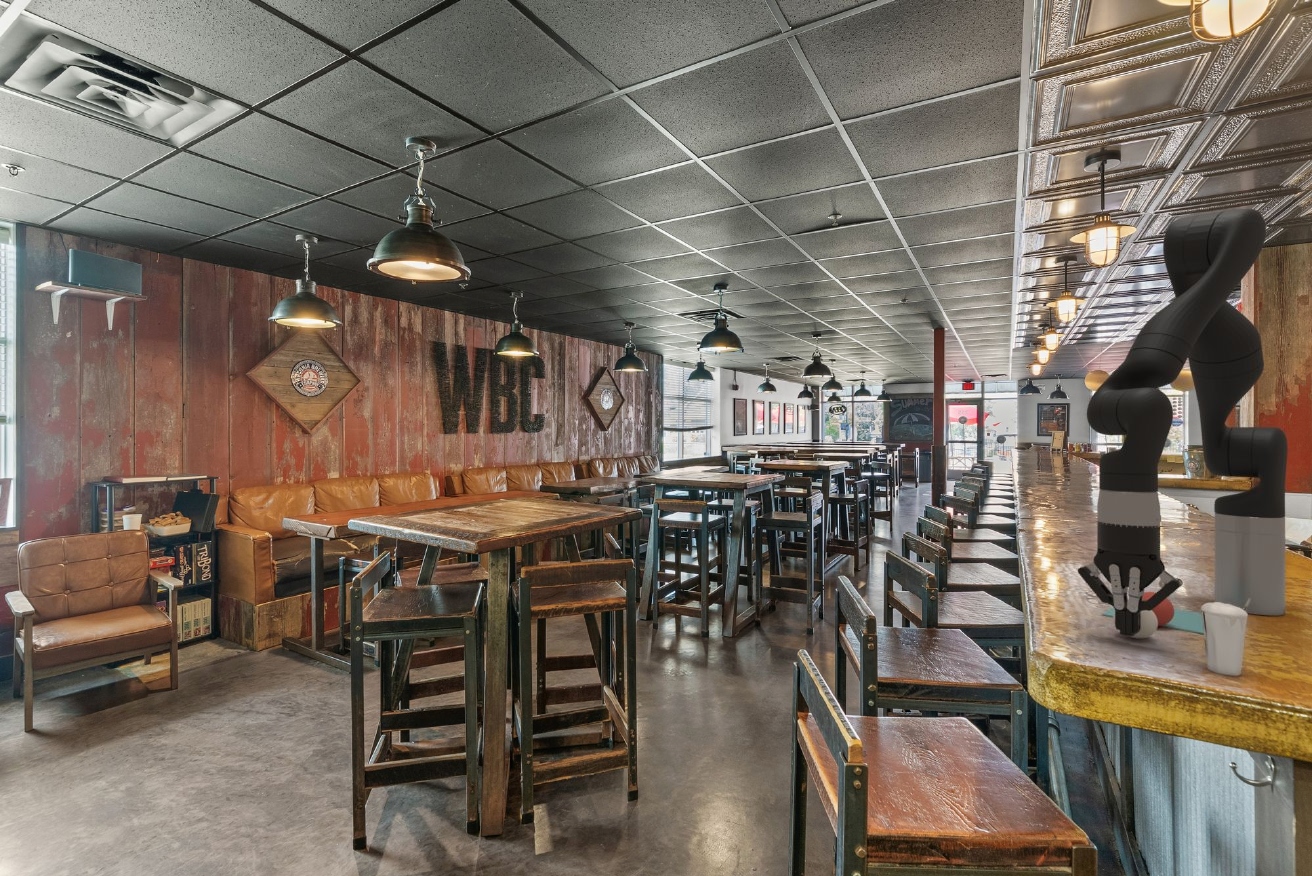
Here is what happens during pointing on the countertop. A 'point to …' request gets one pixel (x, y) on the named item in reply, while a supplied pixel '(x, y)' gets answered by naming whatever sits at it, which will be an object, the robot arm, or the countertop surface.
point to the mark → (1179, 620)
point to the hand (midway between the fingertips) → (1128, 634)
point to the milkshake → (1224, 636)
